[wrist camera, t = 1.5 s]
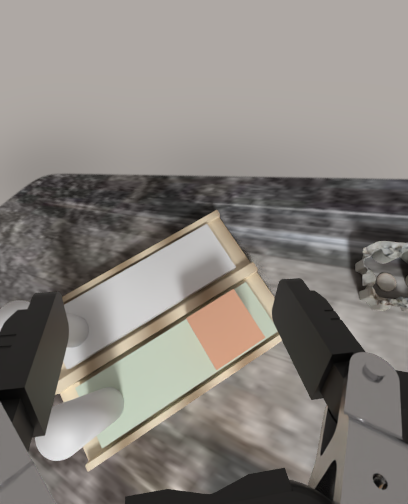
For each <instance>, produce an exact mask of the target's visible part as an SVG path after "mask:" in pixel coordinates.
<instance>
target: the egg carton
mask: <svg viewBox="0 0 408 504" xmlns="http://www.w3.org/2000/svg"><path fill="white" fill-rule="evenodd" d="M371 255H372V257H373V259H374V260H375V261H376V262H378V263H381V264H385V263H388V262H390V261H392V260H394V259H396V258H398V257H401V258H402V259H403V260H404V261H405V262H406V263H408V243H398V242H390V241H378V242H375V243H373V244H371V245H369V246H367V247H365V248H363V258H362V260H360V261H359V262H357V263H356V264H355V270H356V272H359V273H361V274H363V275H362V282H363V286H367V287H366V288H365V289H364V290H362V291H360V292H359V297H360V300H361V301H364V302H366V303H368V304H369V305H370V307H371V309H372V310H381V311H385V310H386V309H390V308H391V307H392V305H393V306H400V308H401V310H402V311H408V298H407V297H406V298H403V297H402V296H401V297H398V298H397V299H388V298H382V297H379V296H378V295H377V294H376V292H375V289H374V288H373V287H372V286H373V285H374V284H375V282H377V285H378V286H379V288H380V289H382V290H383V291H386V292H389V291H393V290H394V289H395V287H396V280H395V278H394V277H393V276H392V275H391V274H388V273H381V274H379V275H378V277H377V279H376V276H375V274H374V272H373V271H372V270H370V269H369V268H367V267H366V266H365V265H364V260H365V259H366V258H368V257H371ZM405 282H406V285H407V287H408V275H407V277H406V279H405Z"/></svg>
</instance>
